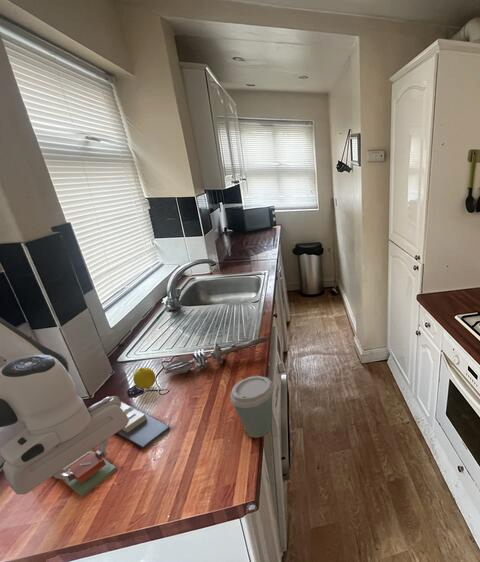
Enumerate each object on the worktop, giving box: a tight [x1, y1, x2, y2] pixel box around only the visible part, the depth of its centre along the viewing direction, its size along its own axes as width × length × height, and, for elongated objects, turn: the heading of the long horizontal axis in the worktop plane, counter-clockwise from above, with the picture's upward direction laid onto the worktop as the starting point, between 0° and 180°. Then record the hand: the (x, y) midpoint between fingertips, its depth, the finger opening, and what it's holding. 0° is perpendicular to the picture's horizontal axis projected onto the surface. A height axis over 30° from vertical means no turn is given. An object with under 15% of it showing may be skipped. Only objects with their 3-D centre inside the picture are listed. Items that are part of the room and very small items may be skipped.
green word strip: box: [60, 449, 118, 498], centre depth 75 cm, size 22×7×3 cm, turn 65°
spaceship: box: [163, 336, 270, 375], centre depth 110 cm, size 8×35×8 cm
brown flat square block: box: [67, 451, 106, 483], centre depth 71 cm, size 5×5×2 cm
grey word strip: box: [116, 401, 171, 450], centre depth 86 cm, size 22×7×3 cm, turn 65°
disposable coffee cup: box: [229, 375, 275, 439], centre depth 81 cm, size 11×11×15 cm
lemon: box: [132, 366, 156, 390], centre depth 99 cm, size 6×6×8 cm
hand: (86, 467), depth 71 cm, fingers closed on brown flat square block, 5 cm apart
